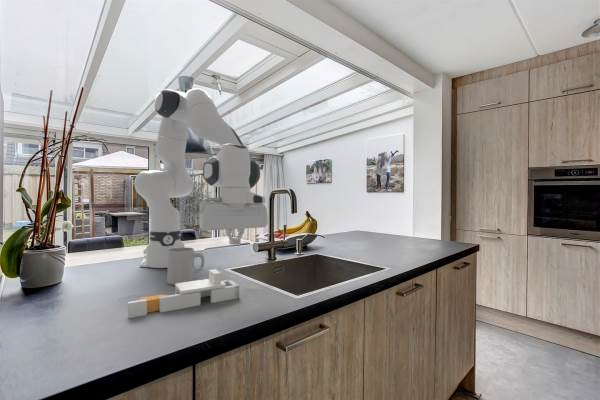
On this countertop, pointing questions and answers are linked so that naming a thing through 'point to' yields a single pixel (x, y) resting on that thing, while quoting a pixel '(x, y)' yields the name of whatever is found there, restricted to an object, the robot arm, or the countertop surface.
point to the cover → (202, 283)
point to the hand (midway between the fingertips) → (234, 244)
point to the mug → (182, 265)
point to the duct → (185, 299)
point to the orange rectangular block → (153, 302)
